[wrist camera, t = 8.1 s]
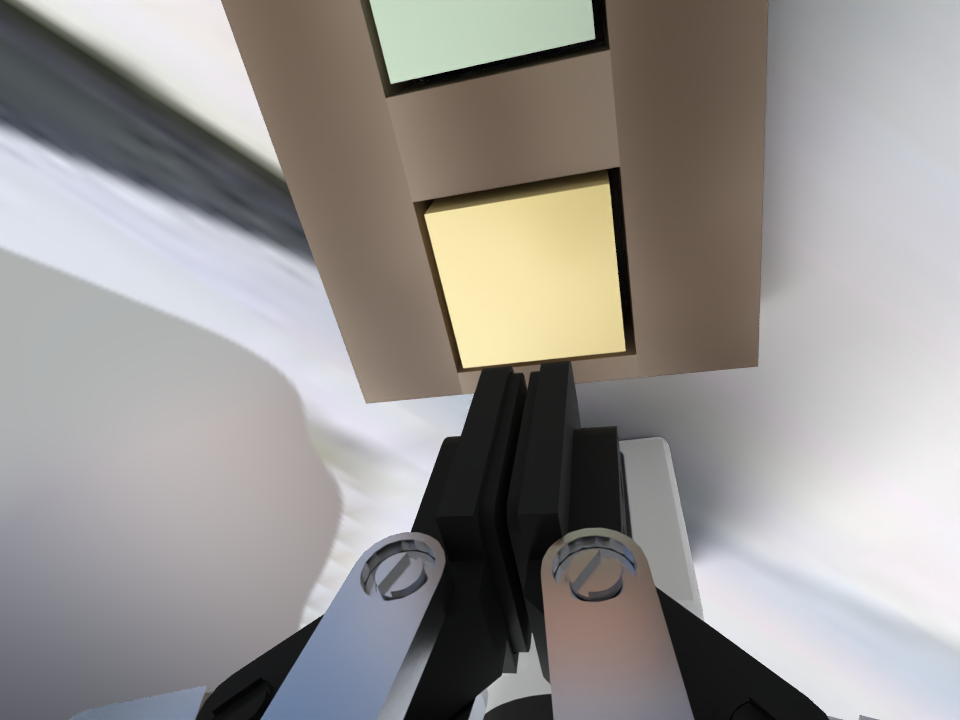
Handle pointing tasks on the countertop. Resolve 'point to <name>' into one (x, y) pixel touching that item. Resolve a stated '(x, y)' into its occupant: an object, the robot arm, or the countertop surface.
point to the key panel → (524, 175)
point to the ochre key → (530, 270)
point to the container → (663, 538)
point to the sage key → (473, 31)
